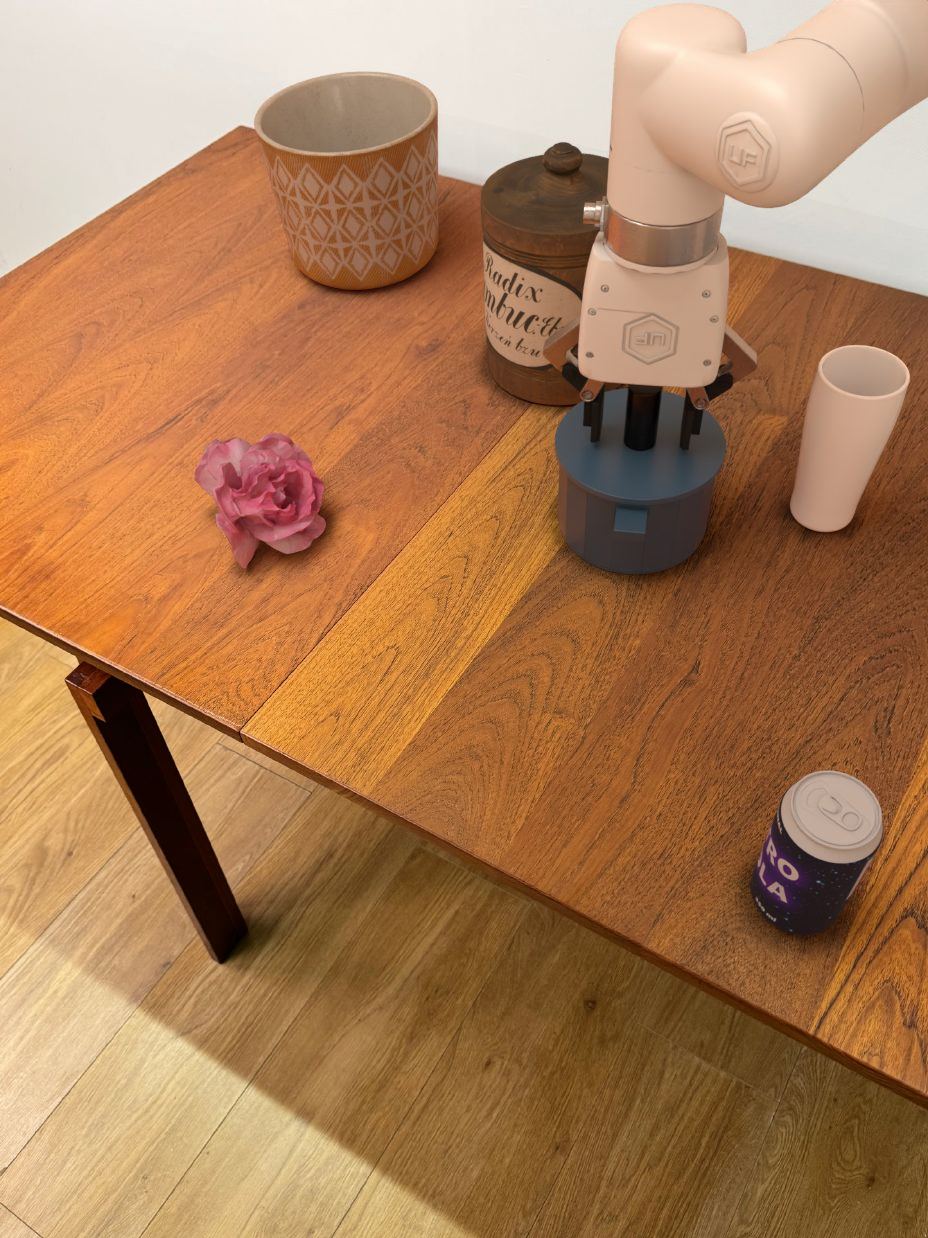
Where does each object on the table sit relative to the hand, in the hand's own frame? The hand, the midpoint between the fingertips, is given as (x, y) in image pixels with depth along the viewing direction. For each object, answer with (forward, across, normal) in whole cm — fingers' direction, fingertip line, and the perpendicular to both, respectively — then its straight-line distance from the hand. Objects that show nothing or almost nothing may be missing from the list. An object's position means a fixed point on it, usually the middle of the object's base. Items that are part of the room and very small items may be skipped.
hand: (640, 433), depth 79 cm
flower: (+10, -31, -5) cm, 33 cm away
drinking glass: (+10, +16, +3) cm, 19 cm away
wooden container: (+10, -9, +22) cm, 26 cm away
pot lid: (+1, 0, 0) cm, 1 cm away
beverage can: (+10, +13, -33) cm, 37 cm away
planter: (+10, -34, +40) cm, 53 cm away
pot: (+10, 0, 0) cm, 10 cm away
